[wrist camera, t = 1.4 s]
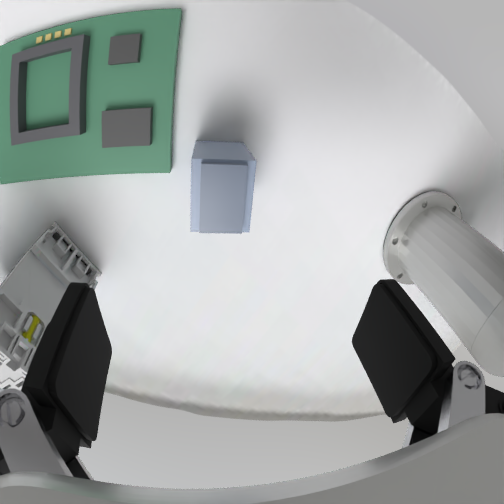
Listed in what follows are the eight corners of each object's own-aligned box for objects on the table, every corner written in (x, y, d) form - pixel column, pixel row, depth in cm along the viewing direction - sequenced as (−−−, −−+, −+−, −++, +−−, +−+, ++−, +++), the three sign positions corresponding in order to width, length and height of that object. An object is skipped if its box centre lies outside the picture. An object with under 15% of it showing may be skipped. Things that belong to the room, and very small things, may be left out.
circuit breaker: (0, 283, 26) (-52, 372, 14) (55, 221, 24) (-24, 325, 11) (39, 322, 30) (1, 416, 17) (101, 273, 28) (57, 393, 15)
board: (182, 12, 17) (179, 3, 15) (171, 169, 24) (167, 177, 22) (4, 47, 14) (-11, 46, 11) (6, 180, 21) (-7, 189, 18)
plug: (243, 142, 24) (258, 163, 17) (238, 198, 26) (250, 238, 20) (195, 140, 23) (191, 160, 17) (193, 197, 26) (190, 237, 19)
